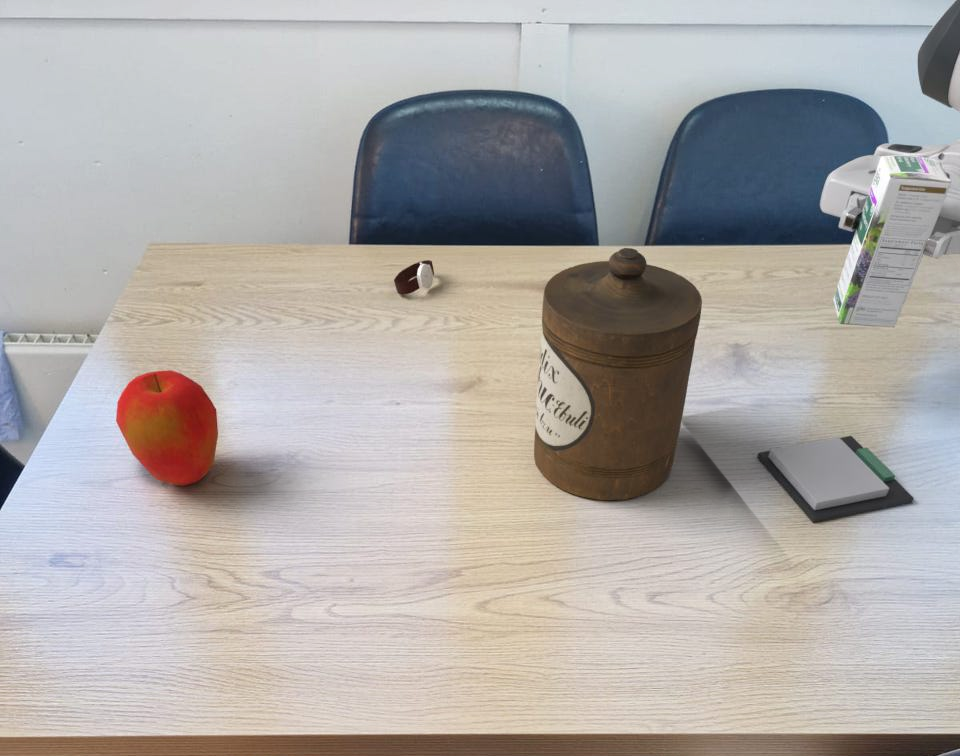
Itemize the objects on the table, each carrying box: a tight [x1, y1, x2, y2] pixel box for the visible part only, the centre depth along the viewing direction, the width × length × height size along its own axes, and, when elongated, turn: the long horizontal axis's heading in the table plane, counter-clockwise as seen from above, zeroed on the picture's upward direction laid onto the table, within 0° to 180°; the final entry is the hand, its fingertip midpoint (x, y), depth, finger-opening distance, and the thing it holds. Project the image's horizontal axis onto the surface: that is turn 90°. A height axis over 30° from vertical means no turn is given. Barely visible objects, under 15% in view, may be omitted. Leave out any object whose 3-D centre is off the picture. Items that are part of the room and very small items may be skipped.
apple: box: [115, 369, 219, 486], centre depth 85 cm, size 9×9×12 cm
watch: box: [393, 259, 435, 296], centre depth 117 cm, size 8×5×4 cm, turn 155°
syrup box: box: [832, 155, 952, 329], centre depth 85 cm, size 6×6×14 cm
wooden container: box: [533, 247, 703, 501], centre depth 84 cm, size 15×15×22 cm
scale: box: [757, 435, 915, 524], centre depth 87 cm, size 11×11×3 cm
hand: (887, 234), depth 84 cm, fingers closed on syrup box, 7 cm apart
